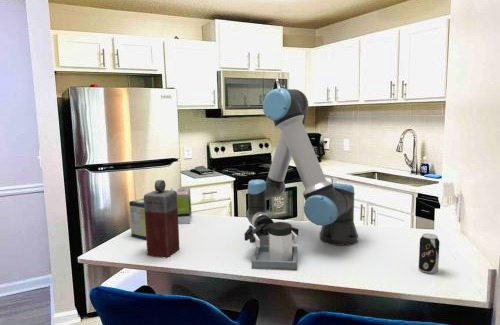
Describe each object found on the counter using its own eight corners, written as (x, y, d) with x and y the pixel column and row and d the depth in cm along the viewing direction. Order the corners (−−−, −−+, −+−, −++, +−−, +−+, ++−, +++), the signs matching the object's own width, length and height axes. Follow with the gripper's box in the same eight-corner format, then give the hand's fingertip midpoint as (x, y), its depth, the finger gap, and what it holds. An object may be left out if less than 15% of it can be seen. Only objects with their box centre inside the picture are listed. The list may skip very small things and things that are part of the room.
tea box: (172, 216, 192) (170, 187, 190) (191, 215, 193) (190, 186, 191) (169, 224, 177) (167, 194, 175) (190, 223, 178) (189, 193, 176)
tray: (297, 253, 140) (297, 246, 139) (296, 270, 125) (296, 262, 124) (257, 251, 142) (256, 245, 141) (251, 268, 127) (251, 261, 127)
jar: (277, 264, 128) (276, 230, 126) (263, 257, 135) (263, 224, 133) (297, 258, 133) (297, 225, 131) (283, 251, 140) (283, 220, 138)
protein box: (173, 230, 170) (172, 196, 167) (148, 240, 156) (145, 204, 154) (156, 226, 175) (154, 194, 173) (130, 236, 162) (128, 201, 159)
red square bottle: (154, 246, 149) (150, 177, 145) (179, 249, 146) (176, 178, 142) (141, 254, 141) (137, 181, 137) (168, 258, 137) (164, 182, 133)
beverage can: (441, 274, 120) (443, 238, 118) (424, 275, 119) (426, 238, 118) (431, 266, 125) (433, 232, 124) (415, 267, 125) (416, 233, 123)
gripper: (292, 230, 153) (312, 248, 132) (232, 235, 148) (242, 255, 127) (292, 212, 152) (312, 228, 131) (231, 217, 146) (241, 234, 126)
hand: (277, 241), depth 129 cm, fingers open, 13 cm apart
